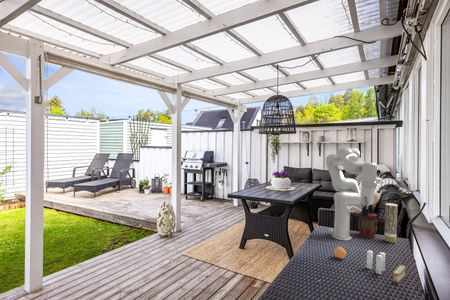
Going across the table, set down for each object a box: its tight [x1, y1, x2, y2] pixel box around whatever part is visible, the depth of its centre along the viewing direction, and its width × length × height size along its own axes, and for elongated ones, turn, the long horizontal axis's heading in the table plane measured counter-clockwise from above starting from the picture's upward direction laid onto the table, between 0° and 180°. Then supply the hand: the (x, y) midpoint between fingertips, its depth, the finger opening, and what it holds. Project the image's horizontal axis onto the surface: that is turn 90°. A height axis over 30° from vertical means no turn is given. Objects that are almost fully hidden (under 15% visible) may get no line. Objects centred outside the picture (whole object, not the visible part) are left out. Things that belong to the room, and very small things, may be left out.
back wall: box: [392, 264, 406, 284], centre depth 122 cm, size 2×12×4 cm, turn 133°
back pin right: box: [375, 254, 383, 275], centre depth 126 cm, size 2×2×8 cm
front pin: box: [366, 249, 374, 270], centre depth 132 cm, size 2×2×8 cm
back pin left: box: [379, 251, 386, 272], centre depth 130 cm, size 2×2×8 cm
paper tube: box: [383, 202, 399, 244], centre depth 174 cm, size 7×7×25 cm
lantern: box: [357, 205, 378, 240], centre depth 183 cm, size 12×12×30 cm
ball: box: [333, 246, 347, 259], centre depth 143 cm, size 6×6×6 cm
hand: (367, 214), depth 147 cm, fingers open, 9 cm apart
